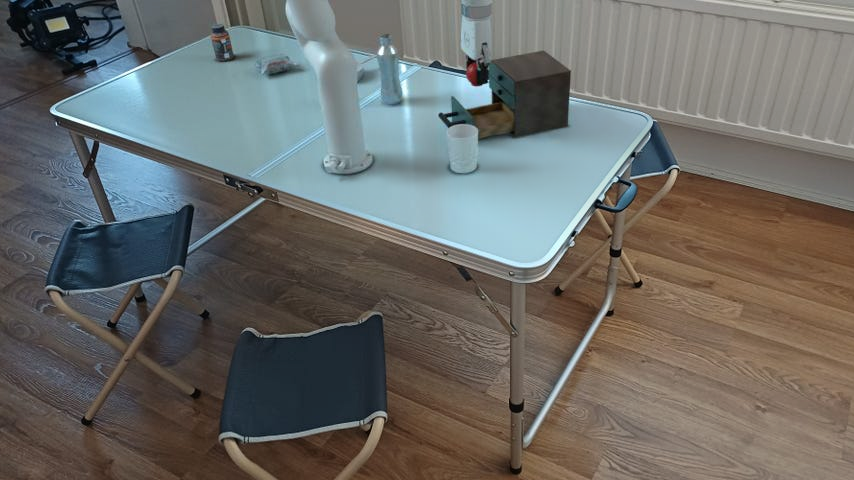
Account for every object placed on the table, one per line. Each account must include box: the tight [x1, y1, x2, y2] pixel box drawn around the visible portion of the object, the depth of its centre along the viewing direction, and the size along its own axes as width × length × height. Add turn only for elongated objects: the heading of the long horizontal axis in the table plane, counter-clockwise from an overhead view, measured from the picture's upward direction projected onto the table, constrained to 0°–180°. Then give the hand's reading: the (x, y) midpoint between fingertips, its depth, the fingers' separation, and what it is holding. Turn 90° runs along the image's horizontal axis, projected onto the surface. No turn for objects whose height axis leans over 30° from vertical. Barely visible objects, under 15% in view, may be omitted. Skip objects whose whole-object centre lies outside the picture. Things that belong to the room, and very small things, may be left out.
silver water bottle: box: [376, 33, 404, 105], centre depth 210 cm, size 6×7×20 cm
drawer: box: [437, 95, 514, 140], centre depth 197 cm, size 21×15×8 cm
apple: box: [465, 62, 484, 88], centre depth 189 cm, size 6×6×7 cm
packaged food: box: [254, 53, 297, 76], centre depth 237 cm, size 9×12×5 cm
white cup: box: [445, 124, 479, 174], centre depth 181 cm, size 8×8×10 cm
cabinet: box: [488, 50, 572, 138], centre depth 199 cm, size 18×16×16 cm
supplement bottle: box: [210, 23, 235, 62], centre depth 245 cm, size 6×6×11 cm
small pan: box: [356, 54, 377, 82], centre depth 233 cm, size 11×18×4 cm, turn 136°
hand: (477, 78), depth 191 cm, fingers closed on apple, 5 cm apart
